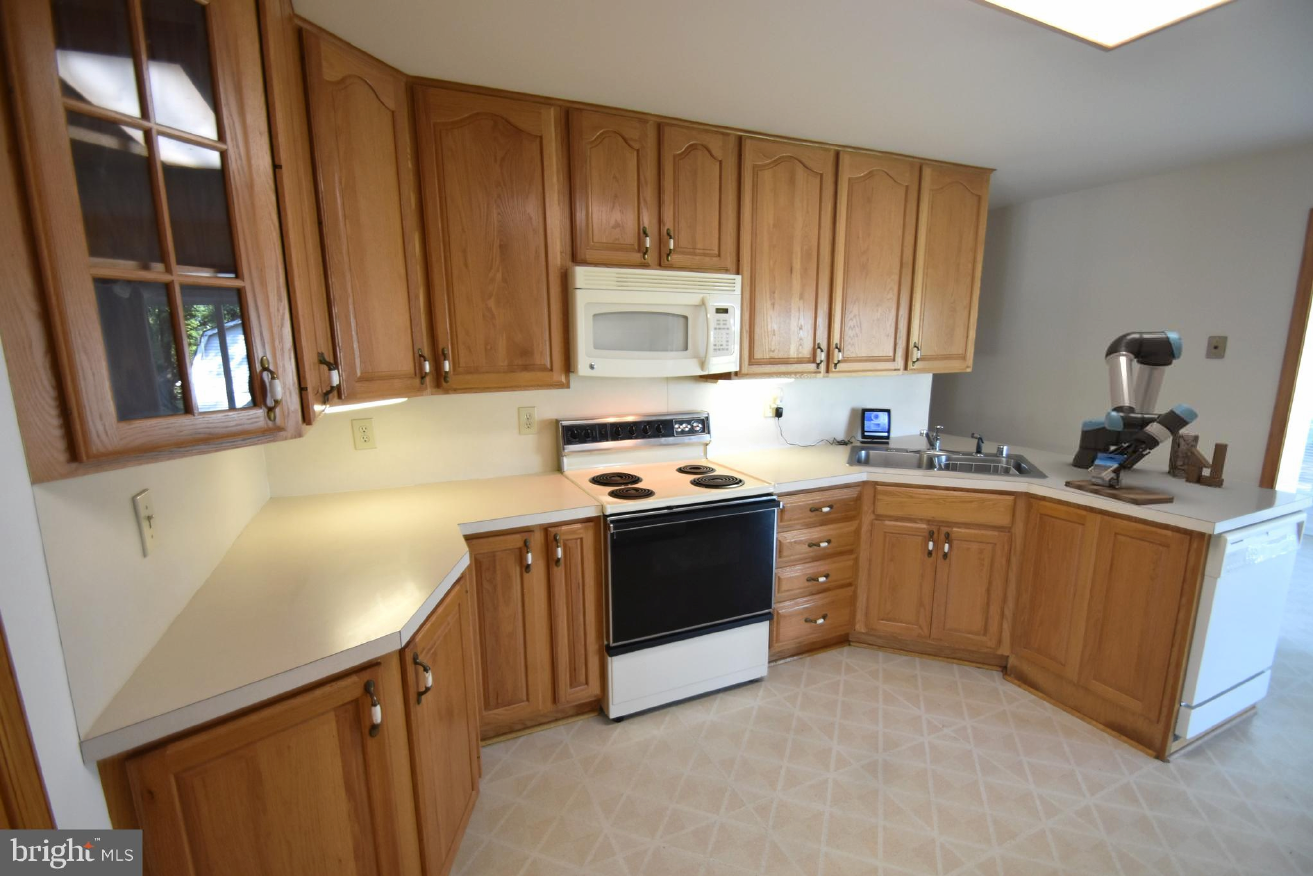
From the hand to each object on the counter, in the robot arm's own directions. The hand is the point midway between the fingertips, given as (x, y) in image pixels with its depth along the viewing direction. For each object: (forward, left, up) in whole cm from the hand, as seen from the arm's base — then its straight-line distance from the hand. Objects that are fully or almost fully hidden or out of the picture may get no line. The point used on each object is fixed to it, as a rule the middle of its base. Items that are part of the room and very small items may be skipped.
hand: (1097, 475), depth 210 cm
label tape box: (+2, +3, -4) cm, 5 cm away
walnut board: (+6, +3, -6) cm, 9 cm away
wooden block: (+2, +54, -6) cm, 54 cm away
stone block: (-12, +61, -6) cm, 62 cm away
